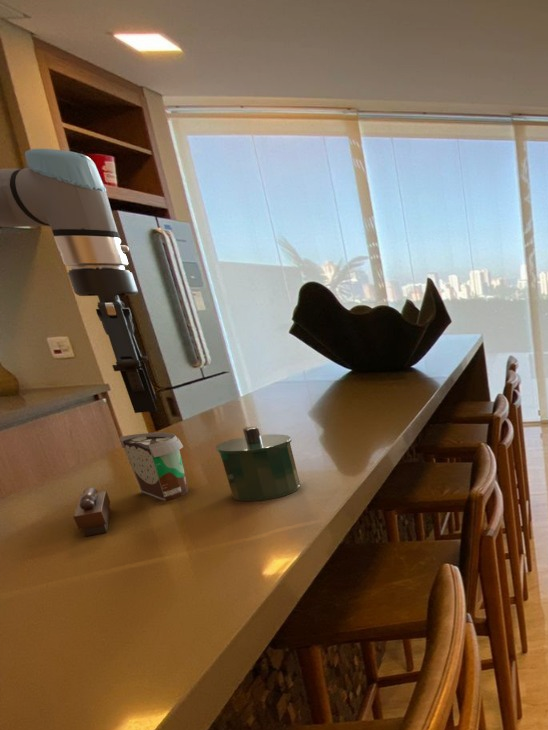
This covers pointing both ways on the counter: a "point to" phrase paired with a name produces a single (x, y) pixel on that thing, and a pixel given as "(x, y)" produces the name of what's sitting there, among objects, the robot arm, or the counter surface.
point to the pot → (261, 474)
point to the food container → (156, 464)
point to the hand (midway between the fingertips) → (146, 405)
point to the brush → (93, 512)
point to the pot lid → (253, 442)
